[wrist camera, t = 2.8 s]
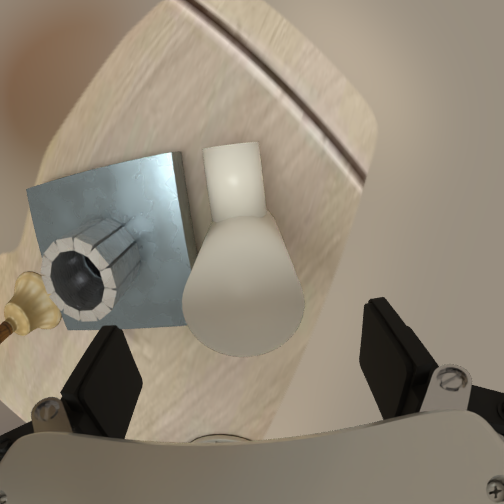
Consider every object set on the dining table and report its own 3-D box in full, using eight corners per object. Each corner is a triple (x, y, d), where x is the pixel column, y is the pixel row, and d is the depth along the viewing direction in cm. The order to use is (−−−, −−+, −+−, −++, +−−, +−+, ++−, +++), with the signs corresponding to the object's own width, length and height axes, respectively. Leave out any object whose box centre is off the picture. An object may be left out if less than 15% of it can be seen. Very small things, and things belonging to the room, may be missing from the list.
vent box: (206, 304, 33) (194, 363, 23) (82, 313, 33) (43, 361, 24) (181, 151, 27) (149, 154, 18) (47, 183, 28) (-13, 201, 18)
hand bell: (7, 283, 32) (-66, 343, 17) (40, 262, 31) (-45, 327, 16) (37, 333, 34) (-23, 405, 19) (73, 319, 33) (7, 402, 18)
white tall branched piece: (277, 251, 31) (306, 349, 16) (217, 258, 31) (195, 361, 16) (266, 142, 27) (291, 134, 12) (201, 150, 27) (152, 154, 12)
